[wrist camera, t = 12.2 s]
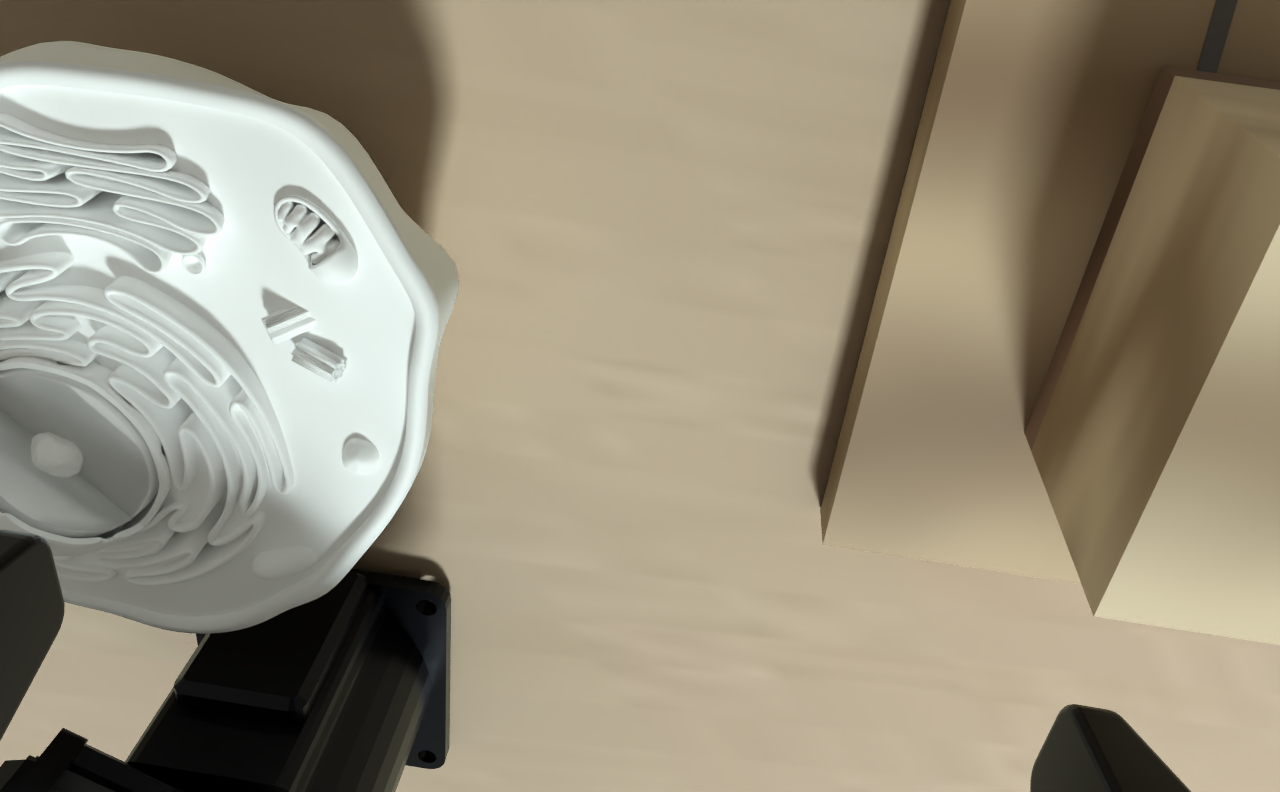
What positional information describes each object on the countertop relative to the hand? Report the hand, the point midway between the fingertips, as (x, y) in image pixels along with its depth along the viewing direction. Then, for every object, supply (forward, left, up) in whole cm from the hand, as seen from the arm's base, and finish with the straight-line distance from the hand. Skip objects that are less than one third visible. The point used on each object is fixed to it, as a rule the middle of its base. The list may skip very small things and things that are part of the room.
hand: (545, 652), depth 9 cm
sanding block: (0, -10, -11) cm, 15 cm away
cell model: (-3, +8, -12) cm, 15 cm away
